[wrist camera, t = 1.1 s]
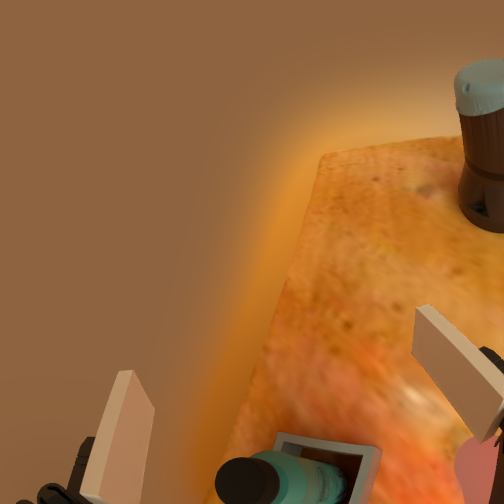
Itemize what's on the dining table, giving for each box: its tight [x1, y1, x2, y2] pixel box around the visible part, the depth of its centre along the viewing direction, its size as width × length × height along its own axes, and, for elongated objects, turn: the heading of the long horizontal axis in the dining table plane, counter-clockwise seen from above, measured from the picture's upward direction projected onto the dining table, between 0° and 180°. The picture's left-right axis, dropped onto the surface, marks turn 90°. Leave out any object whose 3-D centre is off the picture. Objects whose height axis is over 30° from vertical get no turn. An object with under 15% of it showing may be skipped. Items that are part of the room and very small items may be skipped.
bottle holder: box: [272, 431, 382, 504], centre depth 26 cm, size 11×11×6 cm
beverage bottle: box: [215, 450, 349, 504], centre depth 22 cm, size 6×7×20 cm
